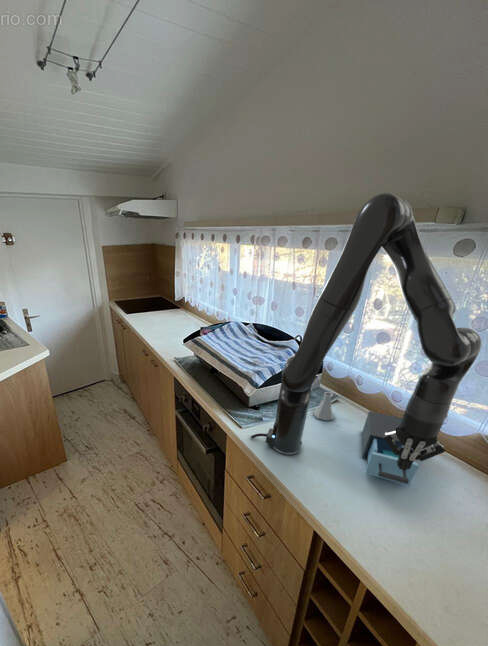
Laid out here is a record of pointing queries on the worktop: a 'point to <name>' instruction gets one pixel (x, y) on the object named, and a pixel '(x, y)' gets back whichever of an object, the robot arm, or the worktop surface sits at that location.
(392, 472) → the light blue drawer box
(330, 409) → the flask
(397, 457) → the teal block
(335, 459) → the worktop surface
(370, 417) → the grey hollow box
